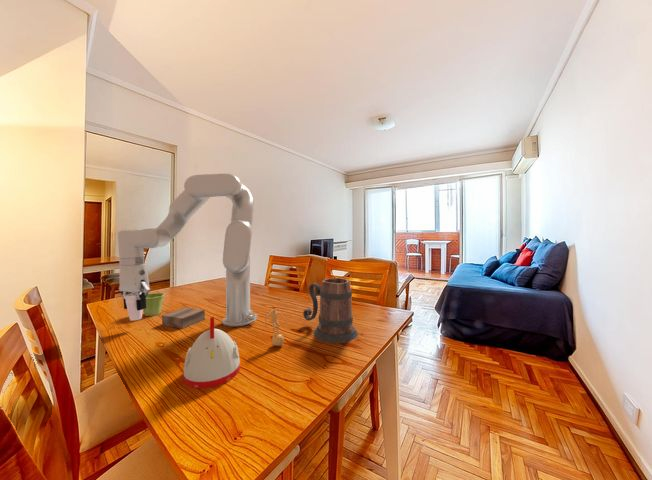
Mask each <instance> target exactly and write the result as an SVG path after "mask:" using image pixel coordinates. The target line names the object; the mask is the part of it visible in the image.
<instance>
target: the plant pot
mask: <svg viewBox="0 0 652 480" xmlns="http://www.w3.org/2000/svg"><path fill="white" fill-rule="evenodd" d="M165 294H166V293H163V292H154V293H153V292H151V293H148V295H147V298H146V308H145V309H143V314H144V316H145V317H149V316H151V317H154V316H158V315H159V314H161V313H162V304H163V299H164V297H165Z"/></svg>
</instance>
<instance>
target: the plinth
mask: <svg viewBox="0 0 652 480" xmlns="http://www.w3.org/2000/svg"><path fill="white" fill-rule="evenodd" d="M205 313H206V312H205V309H199V308H193V307H192V308H191V307H182V308H180V309H177V310H174V311H170V312H168V313H165V314H162V315H161V325H162V326H164V327H165V326H166V327H170V328H177V329H185V328H187V327H190V326H193V325H195V324H196V323H199V322H201V321H204V320H206V318H205V317H206V314H205Z"/></svg>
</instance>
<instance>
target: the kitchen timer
mask: <svg viewBox="0 0 652 480" xmlns="http://www.w3.org/2000/svg"><path fill="white" fill-rule="evenodd" d="M184 359H185V360H184V363H183V364H184V366H183V382H184V384H185V385H186V386H187V387H190V388H195V389H206V388H208V387H209V388H213V387H217V386H220V385H223V384H225V383H227V382H230V381H231V380H232V379H234V378H235V377H236V376H237V375H238V374H239V372H240V369H241V359H240V353H239V347H238V345H237V343H236V341H235V340H233V339H232V338H231V336H230V335H229V334H227V333H226V332H225V331H223V330H222V329H219V328H215V317H214V316H212V317H210V321H209V329H207V330H205V331H204V332H203V333H201V334H200V335H199V336H198V337H197V339H195V341H194V342H193V344H192V346H190V347H189V348H188V350H187V352H186V355H185V358H184ZM209 388H208V389H209Z"/></svg>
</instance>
